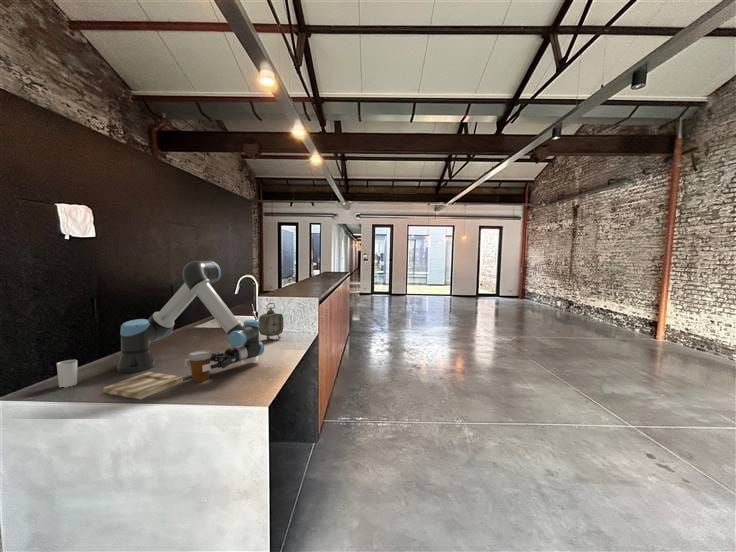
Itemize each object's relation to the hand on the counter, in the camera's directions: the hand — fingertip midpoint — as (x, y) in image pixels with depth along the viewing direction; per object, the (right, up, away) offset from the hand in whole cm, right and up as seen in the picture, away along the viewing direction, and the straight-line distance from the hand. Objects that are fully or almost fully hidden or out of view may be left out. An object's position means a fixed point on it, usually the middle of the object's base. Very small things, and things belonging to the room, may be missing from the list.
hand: (193, 365), depth 151 cm
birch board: (-17, -7, -7) cm, 20 cm away
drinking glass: (-52, -7, -5) cm, 52 cm away
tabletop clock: (+12, -3, +77) cm, 78 cm away
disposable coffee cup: (+2, -7, +3) cm, 8 cm away
